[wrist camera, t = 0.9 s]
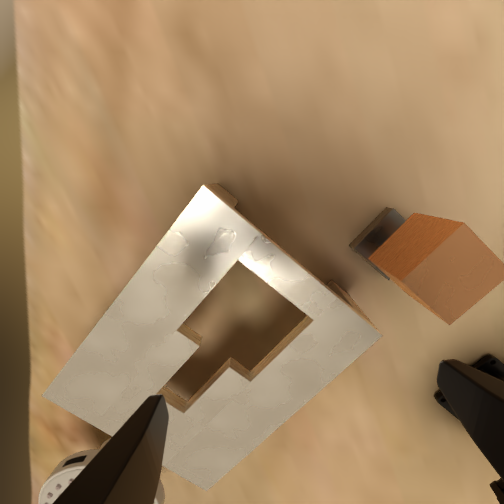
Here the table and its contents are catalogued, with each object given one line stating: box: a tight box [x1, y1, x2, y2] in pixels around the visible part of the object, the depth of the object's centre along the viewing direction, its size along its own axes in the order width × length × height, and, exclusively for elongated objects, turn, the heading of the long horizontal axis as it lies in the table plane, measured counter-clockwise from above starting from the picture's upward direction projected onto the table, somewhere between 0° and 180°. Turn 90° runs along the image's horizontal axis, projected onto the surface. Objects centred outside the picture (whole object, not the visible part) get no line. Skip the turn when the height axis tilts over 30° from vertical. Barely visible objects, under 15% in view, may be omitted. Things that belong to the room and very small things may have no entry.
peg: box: [349, 207, 504, 325], centre depth 17 cm, size 4×4×8 cm
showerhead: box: [39, 438, 165, 504], centre depth 23 cm, size 9×7×10 cm
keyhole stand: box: [42, 184, 383, 491], centre depth 19 cm, size 14×18×6 cm
